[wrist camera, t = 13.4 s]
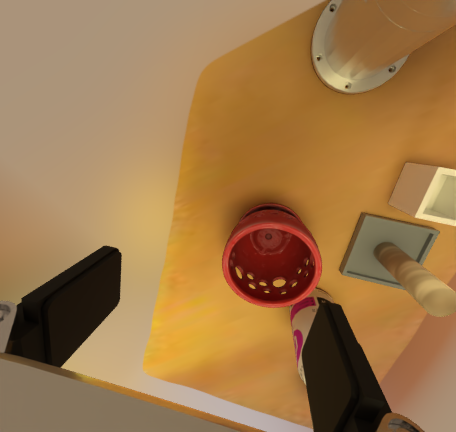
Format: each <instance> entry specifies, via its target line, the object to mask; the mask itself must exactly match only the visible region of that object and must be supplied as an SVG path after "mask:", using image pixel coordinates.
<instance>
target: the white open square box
mask: <svg viewBox="0 0 456 432" xmlns="http://www.w3.org/2000/svg"><path fill="white" fill-rule="evenodd" d="M388 204H389V205H391V206H393V207H395V208H397V209H399V210H401V211H403V212H405V213H407V214H409V215H411V216H413V217H415V218H420V219H425V220H429V221H434V222H439V223H443V224H448V225H453V226H456V170H453V169H448V168H443V167H437V166H430V165H422V164H415V163H408V162H406V163H405V165H404V167H403V170H402V172H401V174H400V177H399V179H398V181H397V184H396V186H395V188H394V191H393V193H392V195H391V198H390V200H389V202H388Z"/></svg>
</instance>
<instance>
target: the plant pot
mask: <svg viewBox="0 0 456 432" xmlns="http://www.w3.org/2000/svg"><path fill="white" fill-rule="evenodd" d="M307 260H309V262H308V265H307V266H306V263H307ZM313 262H314V263H313ZM313 264H314V265H313ZM235 267H237V268H238V269H239V270H240V272H241V274H242V279H240V278H239V277H238V275H237V273H236V269H235ZM222 268H223V274H224V277H225V279H226V281H227V283H228V285H229V286H230V287H231V289H232V290H233V291H234V292H235V293H236V294H237V295H238V296H240V297H241V298H242V299H244V300H246V301H248V302H250V303H252V304H255V305H259V306H262V307H270V308H277V307H286V306H290V305H293V304H296V303H298V302H300V301H302V300H303V299H305V298H306V297H307V296H308V295H309V294H310V293H311V292H312V291H313V290H314V289H315V287H316V286H317V284H318V282H319V280H320V277H321V273H322V260H321V255H320V252H319V249H318V246H317V244H316V242H315V240H314V238H313V236H312V234H311V233H310V231H309V230H308V229H307V228H306V226H305V225H304V224H303V223H302V221H301V219H300V218H299V217H298V215H297V214H296V213H295V212H294V211H292V210H291V209H289V208H288V207H285V206H283V205H279V204H272V203H269V204H262V205H258V206H255V207H253V208H252V209H250V210H249V211H247V212H246V213H245V214H244V215H243V217H242V218H241V220H240V221H239V224H238V225H237V226H236V227H235V228H234V230H233V231H232V233H231V235H230V237H229V239H228V241H227V244H226V246H225V249H224V252H223V258H222ZM300 269H301V272H300V273H299V274H298V272H299V270H300ZM307 273H308V275H307ZM247 274H250V275H251V276H252V277H253V280H252V279H250V278H248V276H247ZM306 275H307V276H306ZM278 279H283V280H285V281H286V283H285V285H284V286H282V287H275V286H274V285H273V282H274V281H275V280H278ZM260 282H264V283H266V284H267V286H262V285H260V284H259V283H260ZM295 282H297V284H296V286H294V287H292V285H293V284H294V283H295ZM249 284H252V285H253V286H254V287H255V288H256V289H252V288H250V287H249ZM264 291H269V292H270V293H265V292H264ZM282 292H286V293H285V294H281V293H282Z"/></svg>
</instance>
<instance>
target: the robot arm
mask: <svg viewBox="0 0 456 432" xmlns="http://www.w3.org/2000/svg"><path fill="white" fill-rule="evenodd" d="M330 10H333V12H330ZM455 25H456V0H331V1H330V2H329V4H328V5H327V6H326V8H325V9H324V10H323V12H322V14H321V16H320V18H319V20H318V22H317V24H316V27H315V29H314V33H313V37H312V44H311V57H312V62H313V66H314V69H315V71H316V73H317V75H318V77H319V78H320V79H321V81H322V82H323V83H324V84H325V85H326V86H328V87H329V88H330V89H332V90H334V91H337V92H340V93H344V94H359V93H364V92H367V91H370V90H372V89H375V88H376V87H378V86H380V85H382V84H383V83H385V82H386V81H388V80H389V79H390V78H392V77H393V76H394V75H395V74H396V73H397V72H398V71H399V69H400V68H401V67H402V66H403V64H404V63H405V62H406V60H407V58H408V56H409V54H410V53H411V52H413V51H414V50H416V49H418V48H419V47H421V46H422V45H424V44H426V43H427V42H429V41H430V40H432V39H434V38H435V37H437V36H438V35H440V34H442V33H443V32H445V31H447V30H448V29H450V28H451V27H453V26H455ZM317 58H320V61H317ZM389 69H390V70H391V71H390V72H389V71H388V70H389ZM346 85H347V86H348V88H347V89H345V86H346ZM121 256H122V255H121V253H120V252H119V250H118V249H117V248H114V247H110V246H103V247H102V248H100V249H98V250H97V251H95V252H94V253H92V254H90V255H89V256H87V257H86V258H84V259H83V260H81V261H79V262H78V263H76V264H75V265H73V266H72V267H70V268H69V269H67V270H65V271H64V272H62V273H61V274H59V275H58V276H56V277H54V278H53V279H51V280H50V281H48V282H46V283H45V284H43V285H42V286H40V287H38V288H37V289H35V290H34V291H32V292H31V293H29V294H28V295H26V296H24V297H23V298H22V302H21V303H20V304H18V305H17V306H16V305H15V304H14V303H12V302H9V301H0V432H265V431H262V430H259V429H256V428H253V427H249V426H247V425H243V424H240V423H237V422H234V421H231V420H228V419H225V418H221V417H218V416H215V415H212V414H209V413H205V412H202V411H199V410H196V409H193V408H189V407H186V406H183V405H180V404H177V403H173V402H170V401H167V400H164V399H160V398H157V397H154V396H151V395H147V394H144V393H141V392H137V391H135V390H132V389H128V388H125V387H122V386H118V385H115V384H112V383H109V382H105V381H102V380H99V379H95V378H92V377H88V376H85V375H82V374H79V373H76V372H72V371H69V370H66V369H62V368H60V367H61V366H62V365H63V364H64V363H65V362H66V361H67V360H68V359H69V358H70V357H71V356H72V354H73V353H74V352H75V351H76V350H77V349H78V348H79V347H80V346H81V345H82V343H83V342H84V341H85V340H86V339H87V338H88V337H89V336H90V335H91V334H92V333H93V331H94V330H95V329H96V328H97V327H98V326H99V325H100V324H101V323H102V321H104V319H105V318H106V317H107V316H108V315H109V314H110V313H111V312H112V311H113V309H115V307H116V306H117V305H118V303H119V300H120V282H121ZM302 363H303V369H304V375H305V381H306V387H307V393H308V399H309V405H310V411H311V417H312V423H313V429H314V432H424V431H423V430H422V429H421V428H420V427H419V426H418V425H417V424H415V423H414V422H412V421H411V420H410V419H408V418H407V417H404V416H402V415H400V414H397V413H392V411H391V409H390V407H389V405H388V403H387V401H386V399H385V396H384V394H383V392H382V390H381V388H380V386H379V384H378V381H377V379H376V377H375V375H374V373H373V371H372V369H371V366H370V364H369V362H368V360H367V358H366V356H365V354H364V352H363V349H362V347H361V346H360V344H359V343H358V342H357V340H356V338H355V335H354V333H353V331H352V329H351V327H350V325H349V322H348V320H347V318H346V316H345V314H344V312H343V309H342V307H341V306H340V305H339V304H335V303H331V302H327V301H326V302H325V303H324V304H320V305H319V307H318V310H317V312H316V315H315V317H314V320H313V323H312V325H311V328H310V330H309V333H308V336H307V338H306V341H305V343H304V346H303V349H302Z"/></svg>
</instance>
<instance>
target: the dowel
mask: <svg viewBox="0 0 456 432" xmlns="http://www.w3.org/2000/svg"><path fill="white" fill-rule="evenodd" d="M374 257H375V258H376V259H377V260H378V261H379V262H380V263H381V264H382V265H383V266H384V267H385V269H386V270H387V271H388V272H389V273H390V274H391V275H392V276H393V277H394V278H395V279H396V280H397V281H398V282H399V283H400V284H401V285H402V286H403V287H404V288H405V289H406V290H407V292H408V293H409V294H410V295H411V296H412V297H413V298H414V299H415V300H416V301H417V302H418V303H419V304H420V305H421V306H422V307H423V308H424V309H425V310H426V311H427V312H428V313H429V314H431V315H433V316H438V317H443V316H448V315H451V314H452V313H454V312H456V292H455V291H453V290H452V289H451V288H450V287H448V286H447V285H446V284H444V283H443V282H442V281H441V280H439V279H438V278H437V277H435V276H434V275H433V274H432V273H430V272H429V271H428V270H427V269H425V268H424V267H423V266H421V265H420V264H419V263H418V262H416V261H415V260H414V259H413V258H411V257H410V256H409V255H407V254H406V253H405V252H404V251H402V250H401V249H400V248H399V247H397V246H396V245H395V244H393V243H391V242H383V243H380V244H379V245H377V246H376V247H375V249H374Z"/></svg>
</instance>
